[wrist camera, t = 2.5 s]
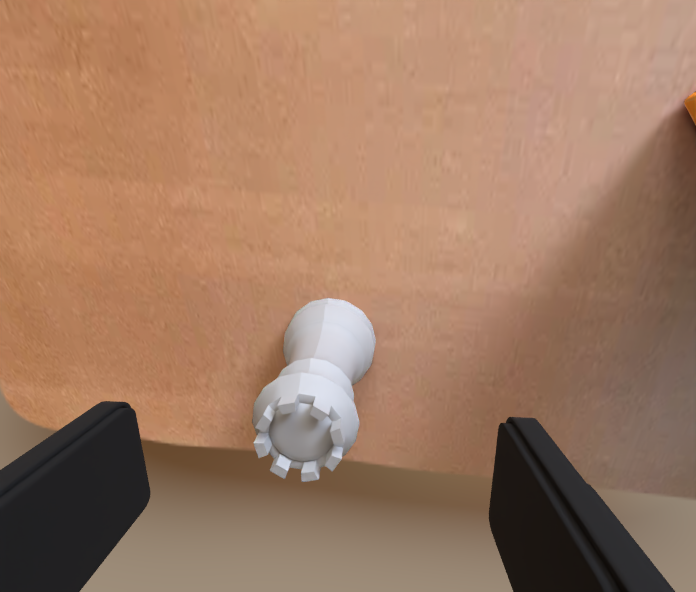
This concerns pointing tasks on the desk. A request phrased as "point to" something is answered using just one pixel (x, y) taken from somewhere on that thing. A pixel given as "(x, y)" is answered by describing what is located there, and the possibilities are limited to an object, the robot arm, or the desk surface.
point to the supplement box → (691, 106)
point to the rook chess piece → (315, 389)
